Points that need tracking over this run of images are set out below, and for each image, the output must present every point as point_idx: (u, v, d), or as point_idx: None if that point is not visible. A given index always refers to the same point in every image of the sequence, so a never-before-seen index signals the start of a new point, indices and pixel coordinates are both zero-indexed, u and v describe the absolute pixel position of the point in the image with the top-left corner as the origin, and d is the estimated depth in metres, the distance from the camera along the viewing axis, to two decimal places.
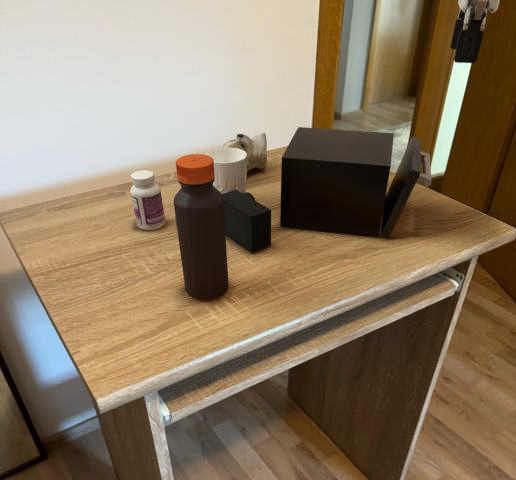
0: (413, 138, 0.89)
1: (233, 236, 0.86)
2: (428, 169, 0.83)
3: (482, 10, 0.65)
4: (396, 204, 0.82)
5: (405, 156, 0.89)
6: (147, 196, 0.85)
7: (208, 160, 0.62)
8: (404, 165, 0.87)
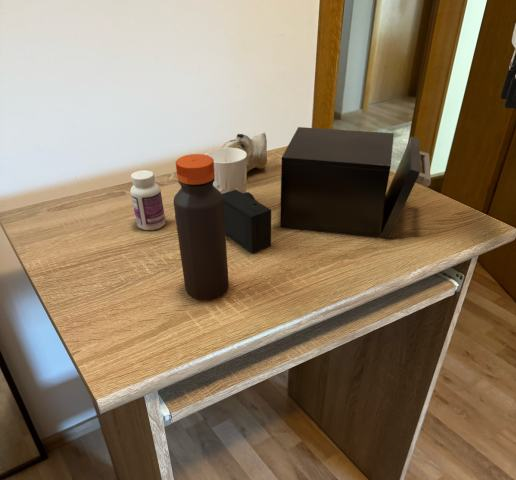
0: (412, 138, 0.89)
1: (233, 236, 0.86)
2: (427, 169, 0.83)
3: None
4: (396, 204, 0.82)
5: (404, 156, 0.89)
6: (147, 196, 0.85)
7: (208, 160, 0.62)
8: (403, 165, 0.87)
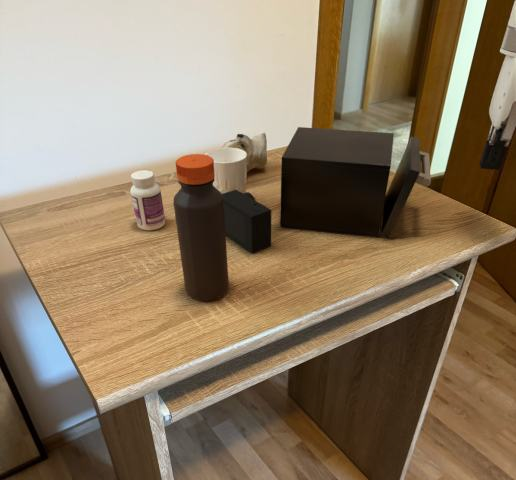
0: (412, 138, 0.89)
1: (233, 236, 0.86)
2: (427, 169, 0.83)
3: None
4: (396, 204, 0.82)
5: (404, 156, 0.89)
6: (147, 196, 0.85)
7: (208, 160, 0.62)
8: (403, 165, 0.87)
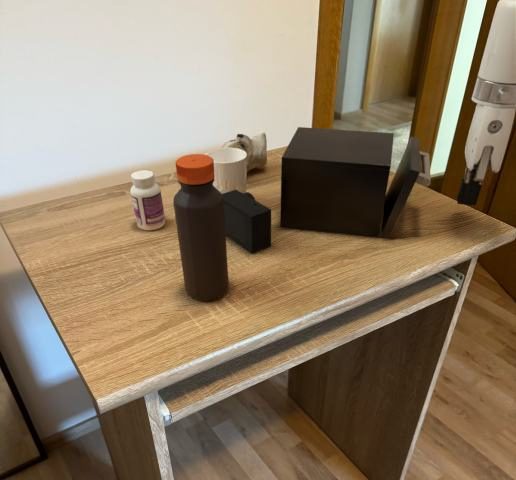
0: (412, 138, 0.89)
1: (233, 236, 0.86)
2: (427, 169, 0.83)
3: None
4: (396, 204, 0.82)
5: (404, 156, 0.89)
6: (147, 196, 0.85)
7: (208, 160, 0.62)
8: (403, 165, 0.87)
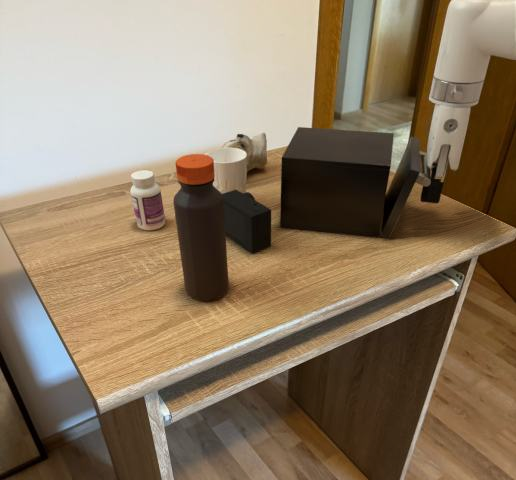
0: (412, 138, 0.89)
1: (233, 236, 0.86)
2: (427, 169, 0.83)
3: None
4: (396, 204, 0.82)
5: (404, 156, 0.89)
6: (147, 196, 0.85)
7: (208, 160, 0.62)
8: (403, 165, 0.87)
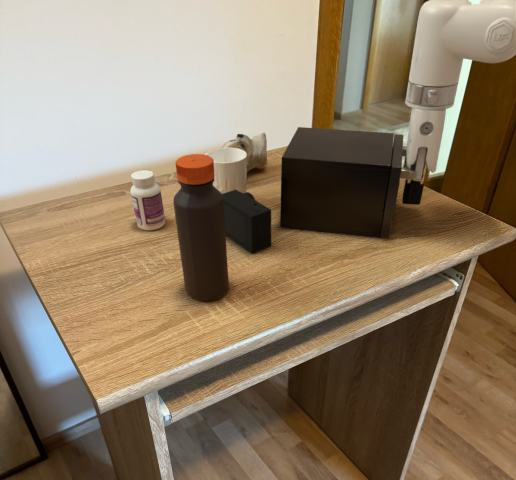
0: (396, 135, 0.89)
1: (233, 236, 0.86)
2: None
3: None
4: (386, 203, 0.83)
5: None
6: (147, 196, 0.85)
7: (208, 160, 0.62)
8: None
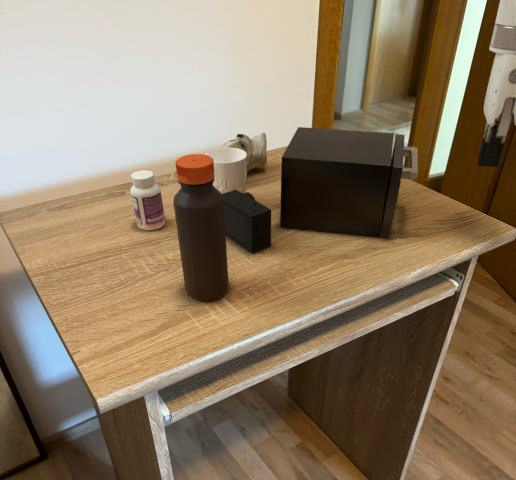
0: (397, 135, 0.89)
1: (233, 236, 0.86)
2: (414, 162, 0.83)
3: None
4: (387, 203, 0.83)
5: (392, 154, 0.90)
6: (147, 196, 0.85)
7: (208, 160, 0.62)
8: (391, 163, 0.87)
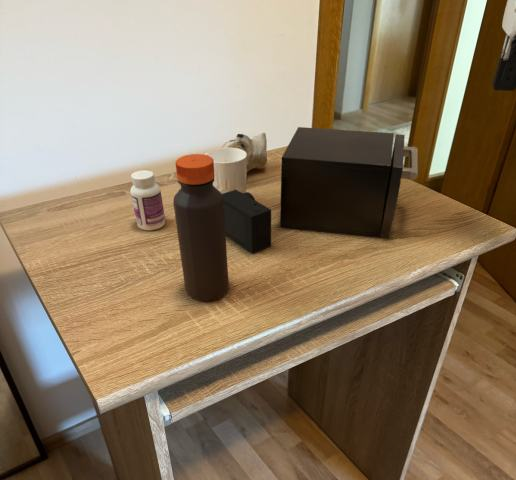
0: (397, 135, 0.89)
1: (233, 236, 0.86)
2: (414, 162, 0.83)
3: None
4: (387, 203, 0.83)
5: (392, 154, 0.90)
6: (147, 196, 0.85)
7: (208, 160, 0.62)
8: (391, 163, 0.87)
